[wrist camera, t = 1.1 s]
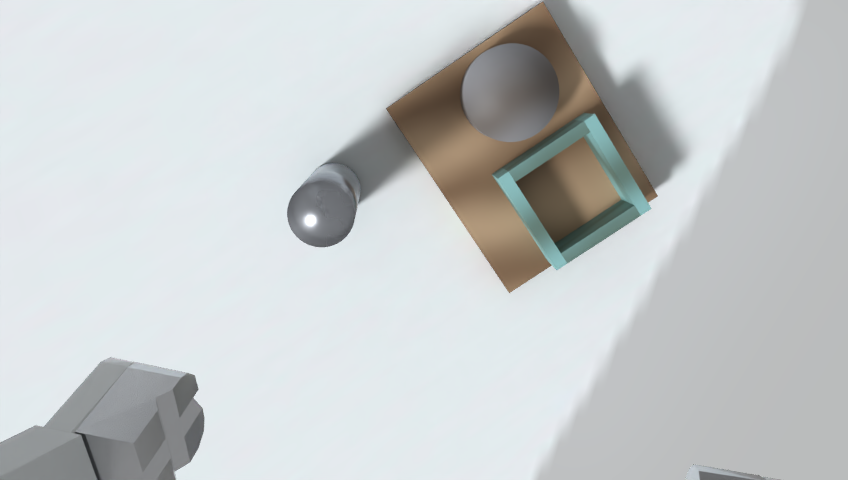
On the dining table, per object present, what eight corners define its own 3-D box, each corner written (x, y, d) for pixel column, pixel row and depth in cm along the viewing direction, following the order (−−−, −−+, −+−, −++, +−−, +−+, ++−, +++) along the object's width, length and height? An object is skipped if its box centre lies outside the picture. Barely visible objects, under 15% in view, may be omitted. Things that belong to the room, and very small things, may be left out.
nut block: (386, 108, 46) (386, 109, 42) (537, 4, 45) (552, -4, 41) (505, 286, 49) (516, 303, 45) (649, 192, 48) (673, 201, 44)
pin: (296, 182, 46) (273, 205, 37) (340, 152, 46) (329, 168, 36) (327, 225, 47) (313, 259, 37) (370, 196, 47) (367, 223, 37)
